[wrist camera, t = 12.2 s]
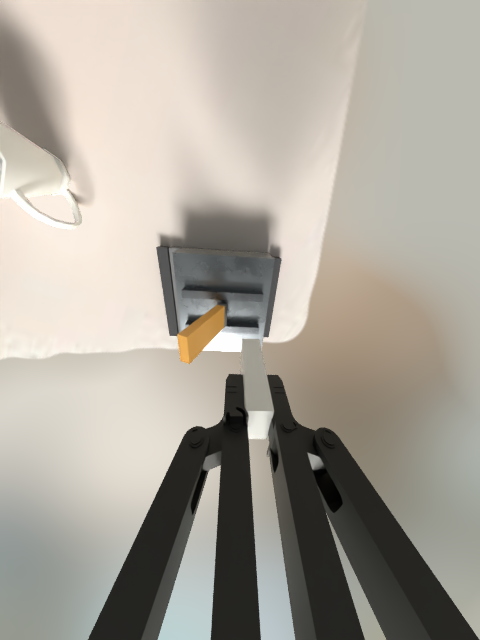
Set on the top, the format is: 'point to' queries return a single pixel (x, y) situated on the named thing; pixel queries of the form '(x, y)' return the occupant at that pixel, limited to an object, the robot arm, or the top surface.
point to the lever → (201, 332)
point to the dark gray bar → (272, 295)
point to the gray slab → (169, 287)
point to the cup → (32, 175)
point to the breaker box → (224, 291)
